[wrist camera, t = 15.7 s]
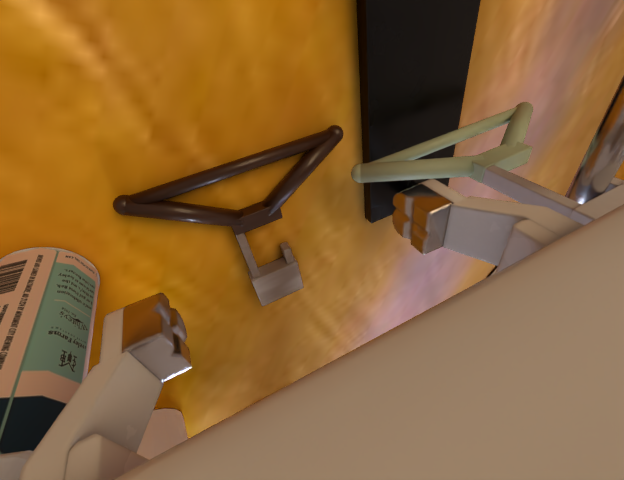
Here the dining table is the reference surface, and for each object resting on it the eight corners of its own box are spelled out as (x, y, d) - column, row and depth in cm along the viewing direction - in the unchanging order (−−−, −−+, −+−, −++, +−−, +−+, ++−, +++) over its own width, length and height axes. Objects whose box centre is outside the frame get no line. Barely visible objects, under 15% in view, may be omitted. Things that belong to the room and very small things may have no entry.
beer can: (-17, 300, 17) (-181, 617, 8) (1, 231, 15) (-174, 526, 7) (87, 309, 20) (50, 547, 11) (111, 252, 18) (90, 474, 10)
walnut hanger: (346, 125, 19) (356, 263, 27) (336, 120, 20) (349, 256, 28) (107, 205, 16) (201, 335, 24) (109, 195, 16) (198, 323, 25)
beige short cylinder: (201, 402, 31) (214, 479, 26) (171, 442, 33) (178, 520, 28) (127, 406, 27) (125, 500, 22) (98, 452, 28) (90, 548, 23)
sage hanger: (524, 97, 21) (814, 166, 12) (519, 115, 22) (787, 192, 13) (347, 163, 18) (561, 324, 9) (348, 181, 18) (546, 345, 10)
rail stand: (484, -110, 16) (991, -277, 6) (439, 185, 28) (594, 277, 18) (352, -89, 14) (789, -280, 5) (364, 217, 26) (494, 337, 16)
